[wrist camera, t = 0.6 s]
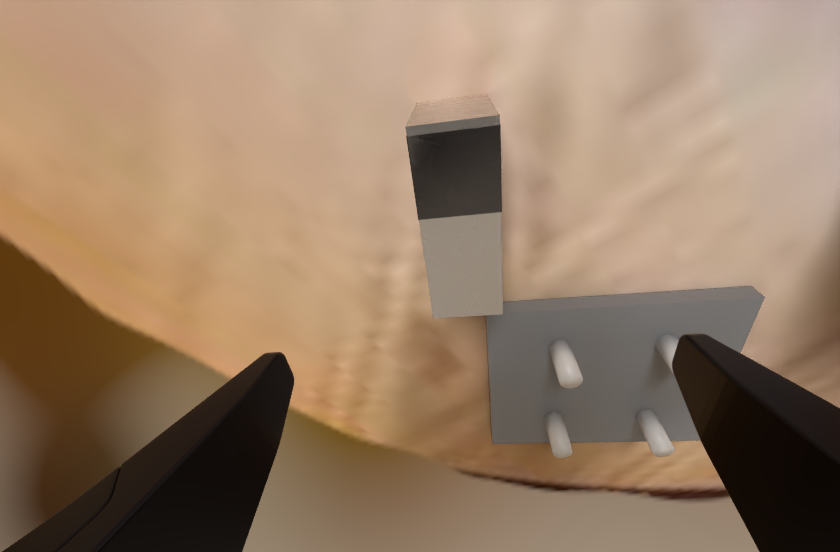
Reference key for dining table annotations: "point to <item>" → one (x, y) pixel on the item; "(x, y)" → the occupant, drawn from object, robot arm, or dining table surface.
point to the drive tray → (603, 365)
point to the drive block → (459, 202)
